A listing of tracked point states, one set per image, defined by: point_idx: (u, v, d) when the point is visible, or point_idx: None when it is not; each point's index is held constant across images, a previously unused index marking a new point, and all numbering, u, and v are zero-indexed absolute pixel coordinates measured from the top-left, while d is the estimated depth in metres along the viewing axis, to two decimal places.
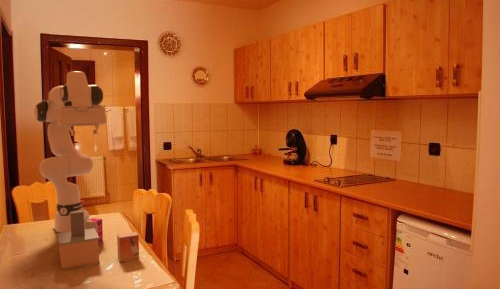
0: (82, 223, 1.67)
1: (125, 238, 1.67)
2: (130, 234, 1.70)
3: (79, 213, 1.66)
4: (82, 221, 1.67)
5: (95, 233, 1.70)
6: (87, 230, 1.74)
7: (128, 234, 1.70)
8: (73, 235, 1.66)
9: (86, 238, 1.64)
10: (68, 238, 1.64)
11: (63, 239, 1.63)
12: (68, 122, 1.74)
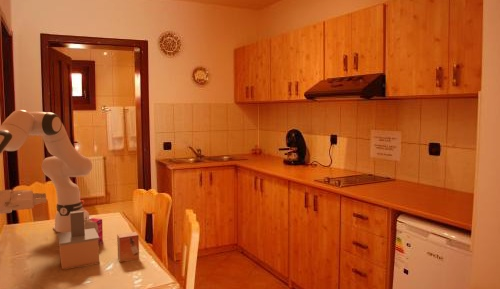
0: (82, 223, 1.67)
1: (125, 238, 1.67)
2: (130, 234, 1.70)
3: (79, 213, 1.66)
4: (82, 221, 1.67)
5: (95, 233, 1.70)
6: (87, 230, 1.74)
7: (128, 234, 1.70)
8: (73, 235, 1.66)
9: (86, 238, 1.64)
10: (68, 238, 1.64)
11: (63, 239, 1.63)
12: None
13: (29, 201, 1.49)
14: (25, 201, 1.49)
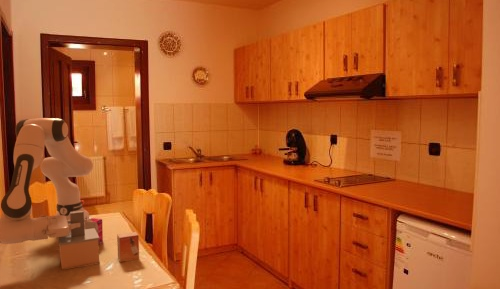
0: (82, 223, 1.67)
1: (125, 238, 1.67)
2: (130, 234, 1.70)
3: (79, 213, 1.66)
4: (82, 221, 1.67)
5: (95, 233, 1.70)
6: (87, 230, 1.74)
7: (128, 234, 1.70)
8: (73, 235, 1.66)
9: (86, 238, 1.64)
10: (68, 238, 1.64)
11: (63, 239, 1.63)
12: None
13: (66, 229, 1.56)
14: (62, 229, 1.56)
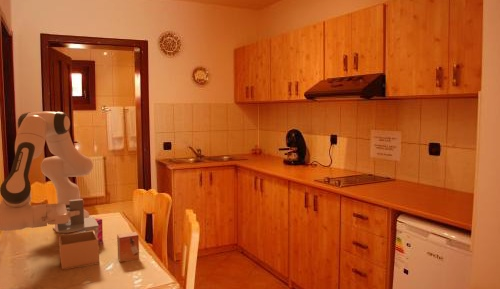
0: (81, 211, 1.67)
1: (125, 238, 1.67)
2: (130, 234, 1.70)
3: (78, 201, 1.66)
4: (81, 209, 1.66)
5: (94, 221, 1.70)
6: (86, 219, 1.74)
7: (128, 234, 1.70)
8: (72, 223, 1.65)
9: (85, 226, 1.63)
10: (67, 226, 1.63)
11: (62, 227, 1.62)
12: None
13: (65, 216, 1.56)
14: (61, 216, 1.55)
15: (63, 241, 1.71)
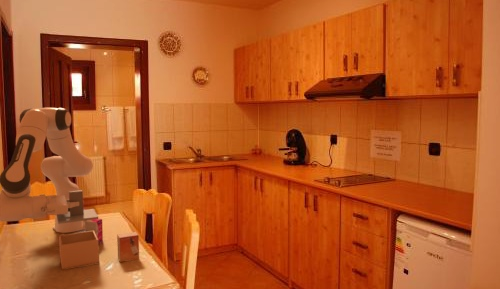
0: (81, 202, 1.66)
1: (125, 238, 1.67)
2: (130, 234, 1.70)
3: (78, 192, 1.65)
4: (81, 200, 1.66)
5: (94, 213, 1.69)
6: (86, 210, 1.74)
7: (128, 234, 1.70)
8: (72, 214, 1.65)
9: (85, 217, 1.63)
10: (67, 217, 1.63)
11: (62, 218, 1.62)
12: None
13: (64, 206, 1.55)
14: (61, 206, 1.55)
15: (63, 241, 1.71)
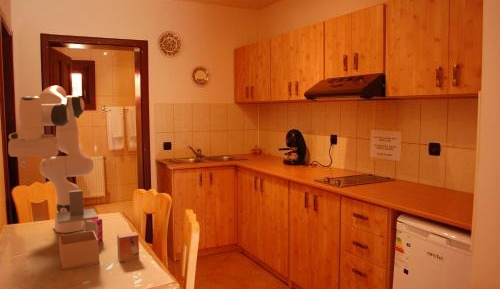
0: (81, 202, 1.66)
1: (125, 238, 1.67)
2: (130, 234, 1.70)
3: (78, 192, 1.65)
4: (81, 200, 1.66)
5: (94, 213, 1.69)
6: (86, 210, 1.74)
7: (128, 234, 1.70)
8: (72, 214, 1.65)
9: (85, 217, 1.63)
10: (67, 217, 1.63)
11: (62, 218, 1.62)
12: (16, 154, 1.69)
13: None
14: (57, 150, 1.71)
15: (63, 241, 1.71)
